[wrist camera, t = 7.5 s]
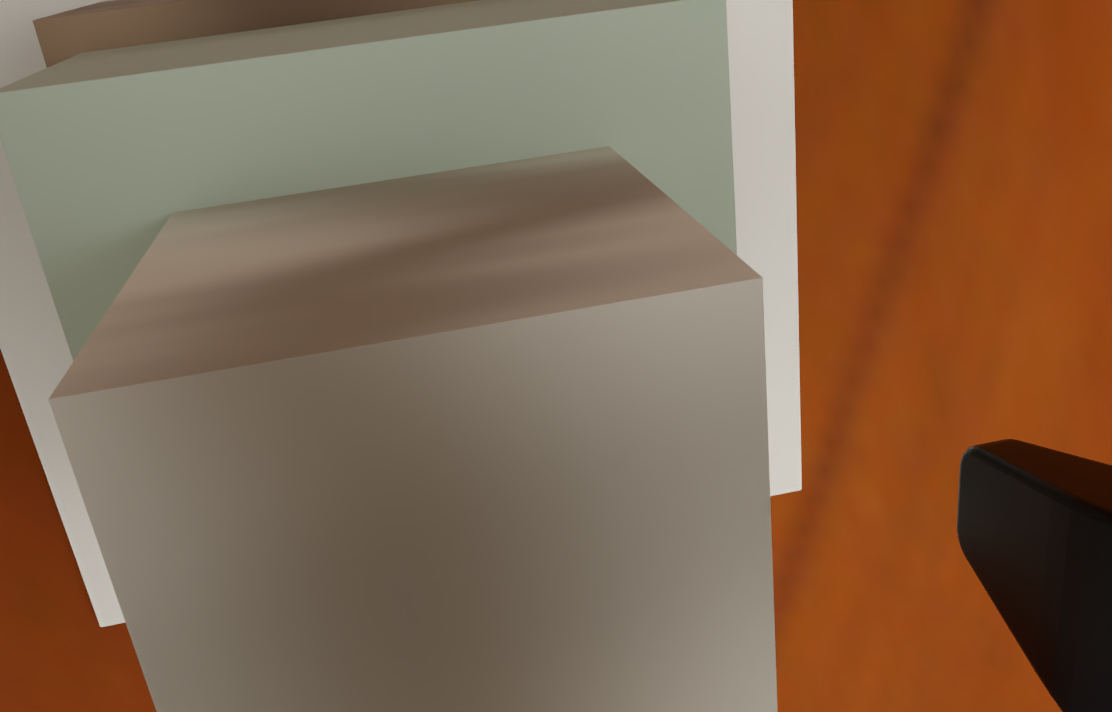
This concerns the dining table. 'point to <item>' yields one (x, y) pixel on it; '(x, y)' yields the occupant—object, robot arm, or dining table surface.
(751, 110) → the board
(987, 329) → the dining table surface
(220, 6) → the walnut block
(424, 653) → the cream block
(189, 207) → the sage block
